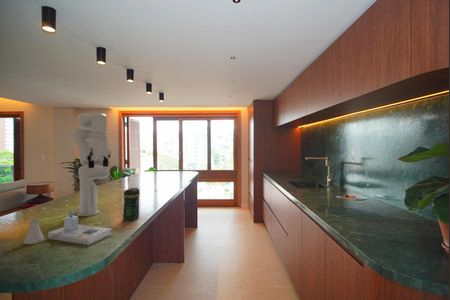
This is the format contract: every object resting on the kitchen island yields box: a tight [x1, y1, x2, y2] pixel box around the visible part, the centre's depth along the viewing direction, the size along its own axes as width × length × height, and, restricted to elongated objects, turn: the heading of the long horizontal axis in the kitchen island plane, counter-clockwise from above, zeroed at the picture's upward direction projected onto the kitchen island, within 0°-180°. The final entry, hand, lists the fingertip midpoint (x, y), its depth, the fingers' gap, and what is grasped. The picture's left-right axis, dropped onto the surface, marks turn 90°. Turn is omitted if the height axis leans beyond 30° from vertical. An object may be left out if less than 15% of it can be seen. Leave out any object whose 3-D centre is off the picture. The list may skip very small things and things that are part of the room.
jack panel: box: [48, 223, 112, 246], centre depth 110 cm, size 24×13×4 cm, turn 74°
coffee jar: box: [122, 187, 140, 222], centre depth 139 cm, size 10×8×19 cm
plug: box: [63, 210, 79, 231], centre depth 112 cm, size 5×4×12 cm
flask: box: [22, 218, 45, 246], centre depth 104 cm, size 7×7×10 cm
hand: (98, 167), depth 126 cm, fingers open, 9 cm apart
